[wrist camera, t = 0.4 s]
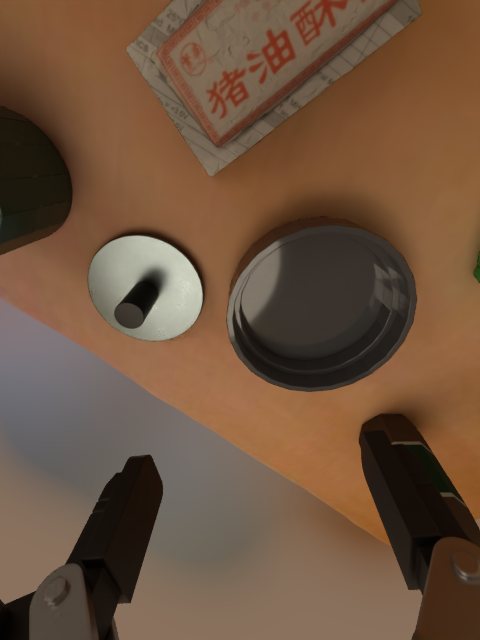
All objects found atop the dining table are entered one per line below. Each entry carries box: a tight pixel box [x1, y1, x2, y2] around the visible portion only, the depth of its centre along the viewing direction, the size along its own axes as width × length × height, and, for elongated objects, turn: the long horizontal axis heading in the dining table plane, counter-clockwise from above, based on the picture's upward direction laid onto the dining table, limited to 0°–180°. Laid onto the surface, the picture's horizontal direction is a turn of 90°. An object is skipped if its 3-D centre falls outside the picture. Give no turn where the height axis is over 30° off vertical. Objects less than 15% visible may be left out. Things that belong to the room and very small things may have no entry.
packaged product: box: [126, 0, 422, 177], centre depth 19 cm, size 18×5×10 cm
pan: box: [226, 216, 417, 392], centre depth 30 cm, size 17×17×4 cm
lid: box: [88, 234, 203, 341], centre depth 28 cm, size 12×12×6 cm
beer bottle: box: [359, 414, 480, 547], centre depth 30 cm, size 8×8×24 cm
